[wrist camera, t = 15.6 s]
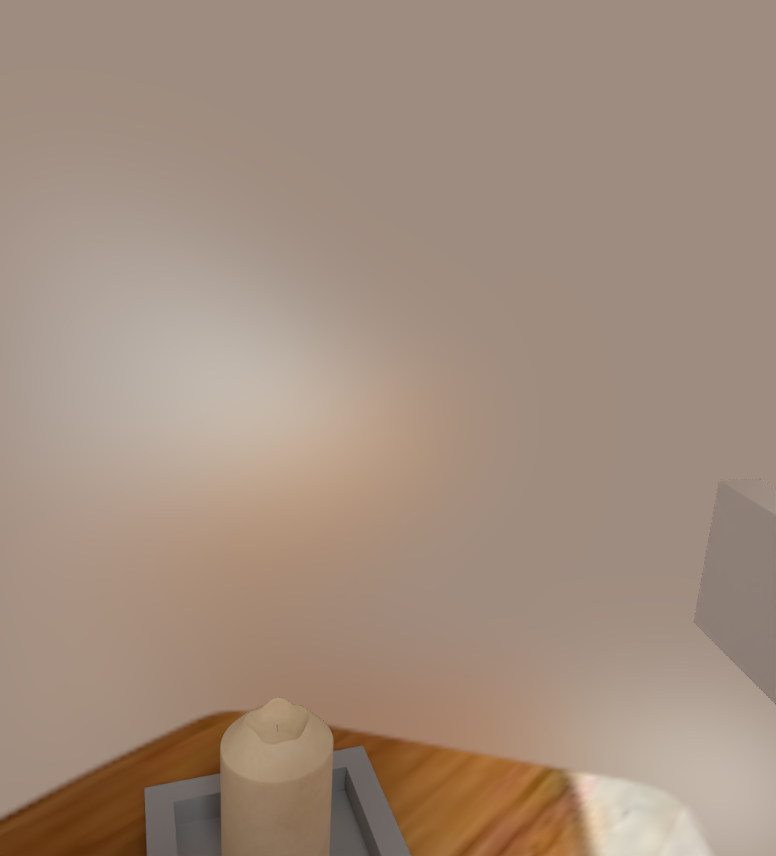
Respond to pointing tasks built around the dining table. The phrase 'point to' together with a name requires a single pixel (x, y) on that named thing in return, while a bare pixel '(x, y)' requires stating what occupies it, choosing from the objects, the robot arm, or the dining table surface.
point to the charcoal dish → (201, 813)
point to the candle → (276, 783)
